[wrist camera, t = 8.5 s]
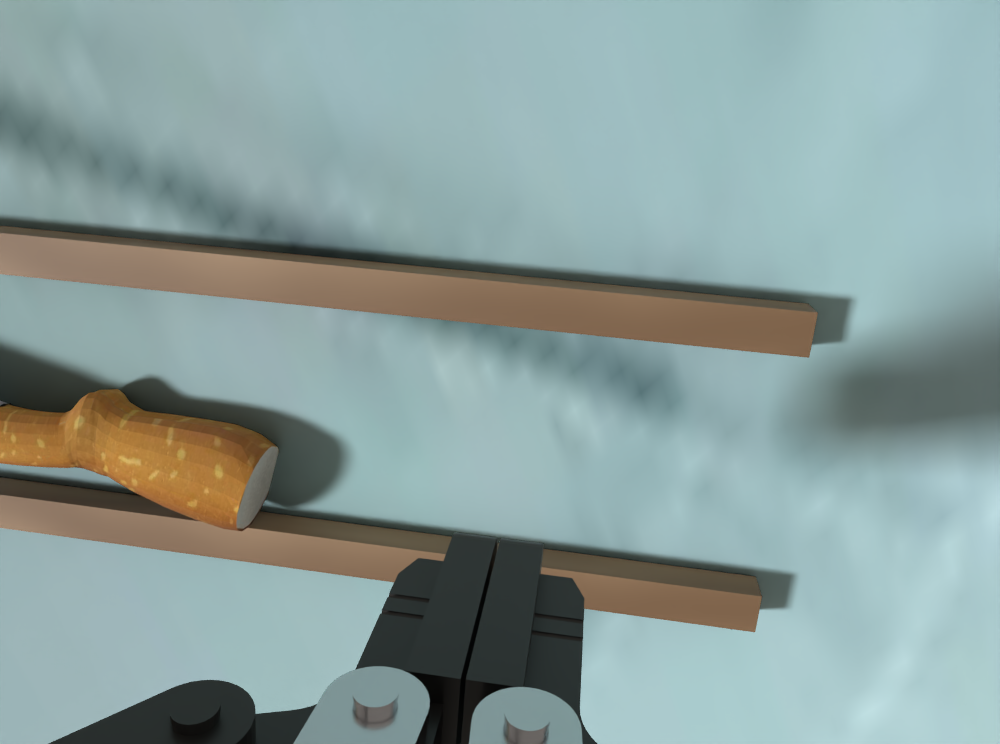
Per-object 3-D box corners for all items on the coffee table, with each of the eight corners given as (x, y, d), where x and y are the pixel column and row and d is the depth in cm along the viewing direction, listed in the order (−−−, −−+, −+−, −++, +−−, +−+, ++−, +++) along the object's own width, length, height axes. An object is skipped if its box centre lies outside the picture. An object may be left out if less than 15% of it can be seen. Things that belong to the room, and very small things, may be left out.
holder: (-539, 173, 22) (-874, 189, 17) (808, 304, 18) (881, 372, 13) (-453, 447, 24) (-724, 531, 19) (748, 611, 21) (791, 765, 16)
